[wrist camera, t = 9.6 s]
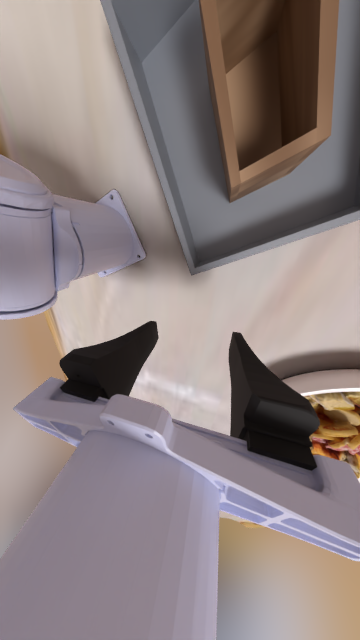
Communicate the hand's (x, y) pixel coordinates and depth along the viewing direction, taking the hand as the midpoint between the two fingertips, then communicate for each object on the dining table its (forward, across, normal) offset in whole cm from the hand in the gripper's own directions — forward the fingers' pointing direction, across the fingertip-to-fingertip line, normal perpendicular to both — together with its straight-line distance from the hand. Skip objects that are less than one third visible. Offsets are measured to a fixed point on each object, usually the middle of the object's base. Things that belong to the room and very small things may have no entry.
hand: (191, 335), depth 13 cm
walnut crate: (+9, -3, -15) cm, 18 cm away
